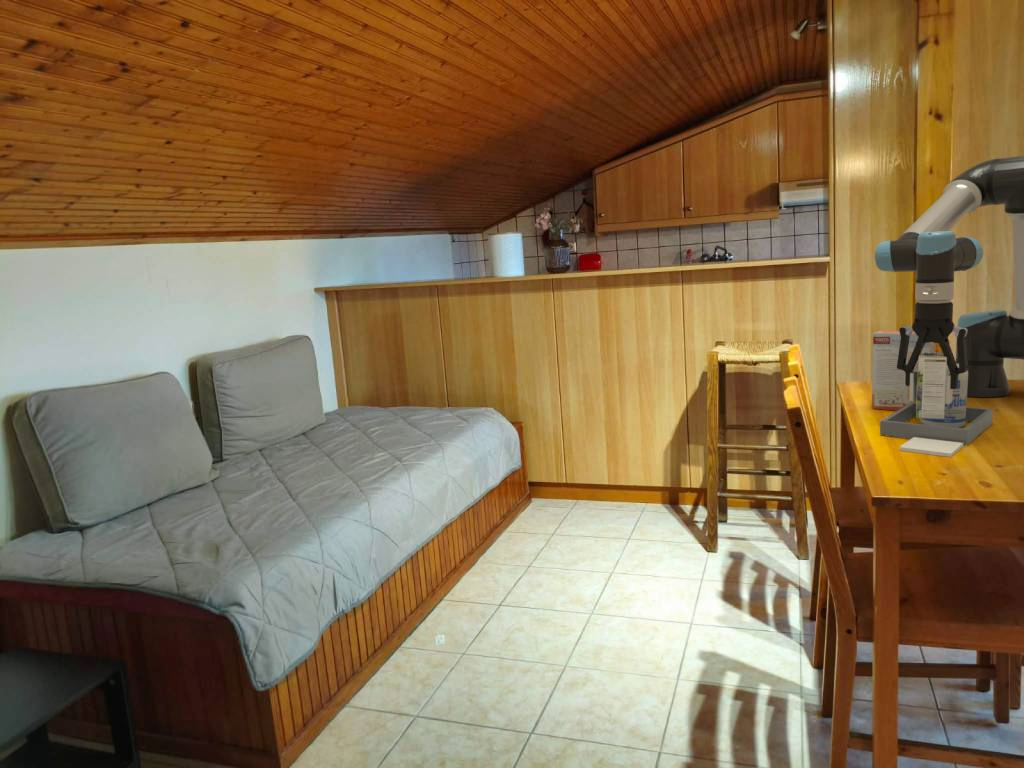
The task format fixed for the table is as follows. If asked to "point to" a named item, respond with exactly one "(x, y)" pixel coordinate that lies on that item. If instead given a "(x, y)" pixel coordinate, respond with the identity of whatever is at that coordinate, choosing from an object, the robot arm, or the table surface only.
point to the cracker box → (892, 370)
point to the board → (931, 447)
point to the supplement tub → (954, 405)
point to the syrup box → (931, 386)
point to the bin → (899, 428)
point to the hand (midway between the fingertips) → (930, 401)
